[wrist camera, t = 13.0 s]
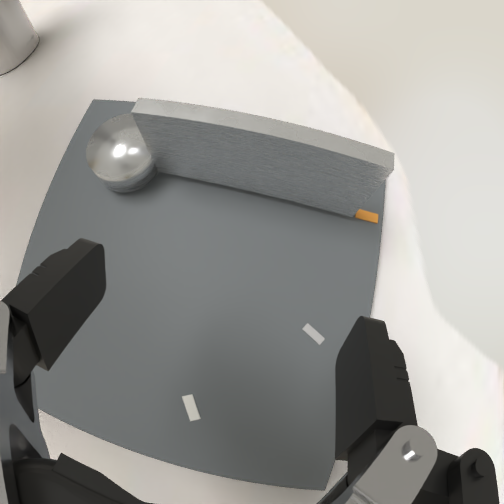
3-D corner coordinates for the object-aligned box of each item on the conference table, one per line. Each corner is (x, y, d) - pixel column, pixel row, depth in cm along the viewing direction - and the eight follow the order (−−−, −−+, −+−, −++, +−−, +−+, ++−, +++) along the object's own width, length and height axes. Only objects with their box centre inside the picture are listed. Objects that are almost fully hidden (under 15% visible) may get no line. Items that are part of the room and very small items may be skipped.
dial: (89, 186, 25) (43, 135, 17) (115, 129, 27) (83, 70, 19) (346, 246, 24) (391, 206, 16) (355, 180, 26) (394, 123, 18)
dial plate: (7, 383, 22) (-3, 384, 21) (97, 107, 30) (92, 98, 28) (320, 483, 22) (325, 491, 20) (380, 160, 29) (387, 152, 27)
